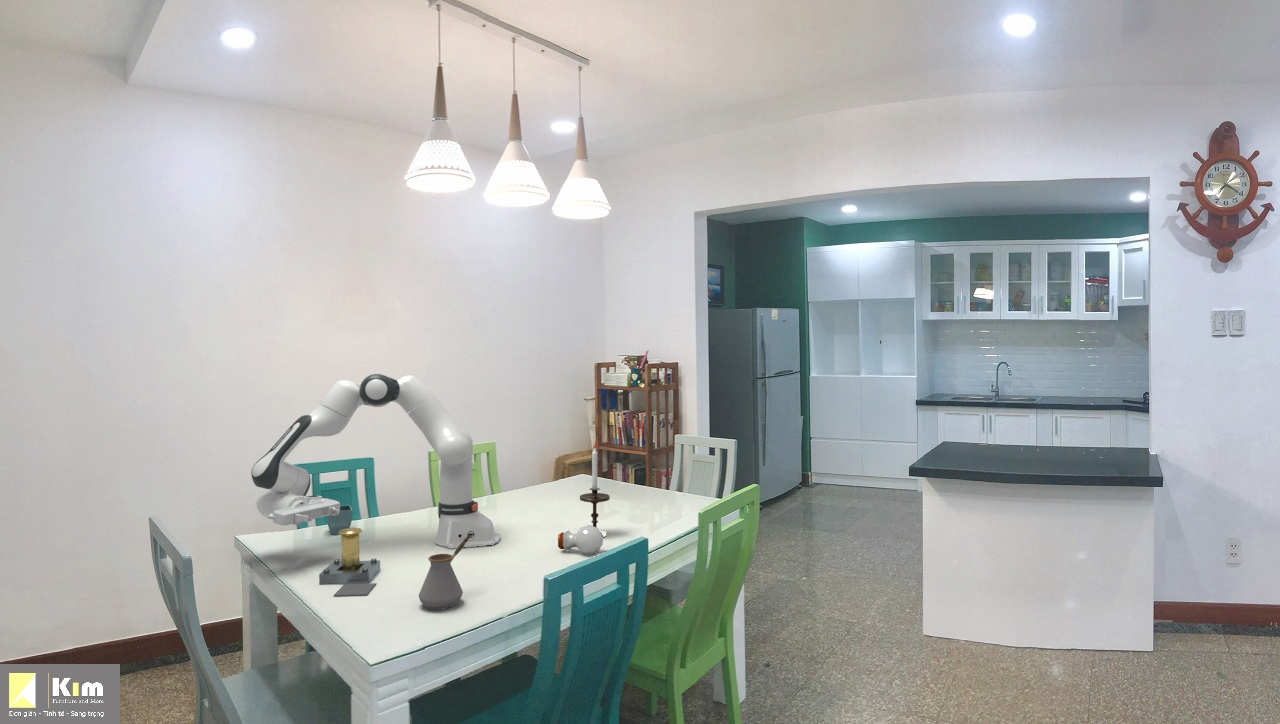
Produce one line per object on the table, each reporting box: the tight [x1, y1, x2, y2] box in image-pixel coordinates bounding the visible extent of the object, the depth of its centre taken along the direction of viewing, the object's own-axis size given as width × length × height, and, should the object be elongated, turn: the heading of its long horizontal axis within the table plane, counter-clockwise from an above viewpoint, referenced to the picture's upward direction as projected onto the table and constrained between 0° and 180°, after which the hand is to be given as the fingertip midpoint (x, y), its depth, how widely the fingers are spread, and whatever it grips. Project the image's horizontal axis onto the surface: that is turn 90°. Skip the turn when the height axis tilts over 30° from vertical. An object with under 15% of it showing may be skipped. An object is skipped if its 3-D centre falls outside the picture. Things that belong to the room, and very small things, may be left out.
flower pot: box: [325, 504, 353, 535], centre depth 262 cm, size 9×9×9 cm
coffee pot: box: [418, 535, 474, 610], centre depth 196 cm, size 21×12×15 cm, turn 163°
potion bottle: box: [557, 524, 604, 556], centre depth 238 cm, size 9×10×15 cm
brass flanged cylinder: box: [338, 527, 363, 570], centre depth 213 cm, size 6×6×14 cm
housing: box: [318, 558, 381, 585], centre depth 213 cm, size 14×12×4 cm
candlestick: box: [579, 439, 611, 528], centre depth 259 cm, size 11×11×35 cm
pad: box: [333, 582, 377, 598], centre depth 202 cm, size 9×9×1 cm
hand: (323, 515), depth 219 cm, fingers open, 8 cm apart
